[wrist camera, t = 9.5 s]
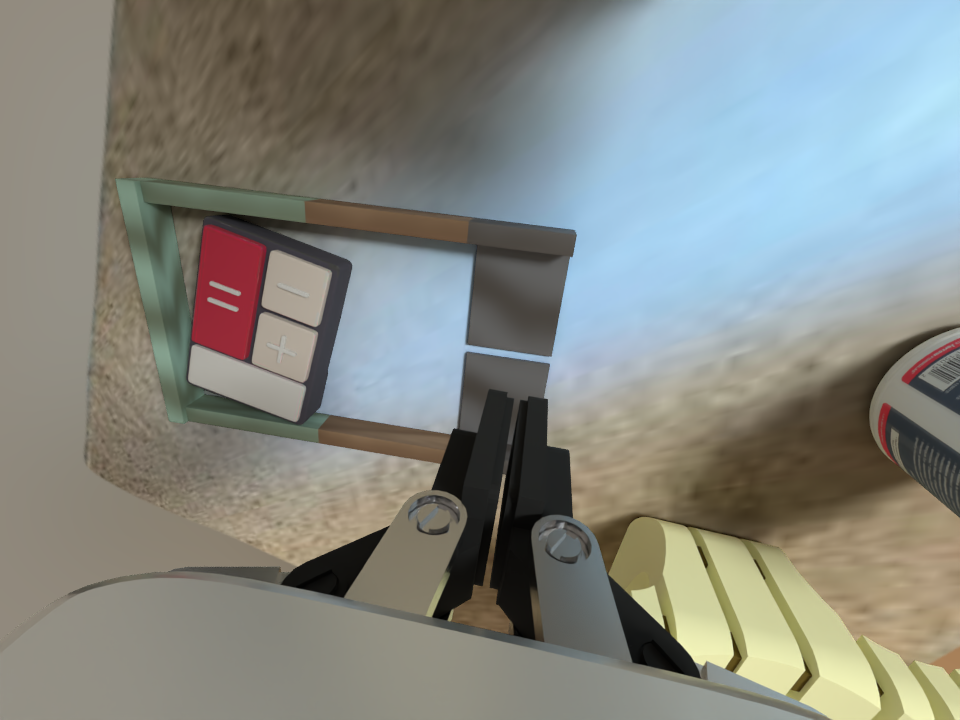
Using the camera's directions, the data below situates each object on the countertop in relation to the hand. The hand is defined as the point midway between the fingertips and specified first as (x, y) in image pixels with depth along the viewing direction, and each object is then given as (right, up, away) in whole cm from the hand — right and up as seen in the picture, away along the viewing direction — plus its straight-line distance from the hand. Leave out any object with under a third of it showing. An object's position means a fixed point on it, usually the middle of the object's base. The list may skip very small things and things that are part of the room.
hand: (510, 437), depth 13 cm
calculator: (-19, +6, +27) cm, 33 cm away
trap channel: (-12, +5, +26) cm, 29 cm away
